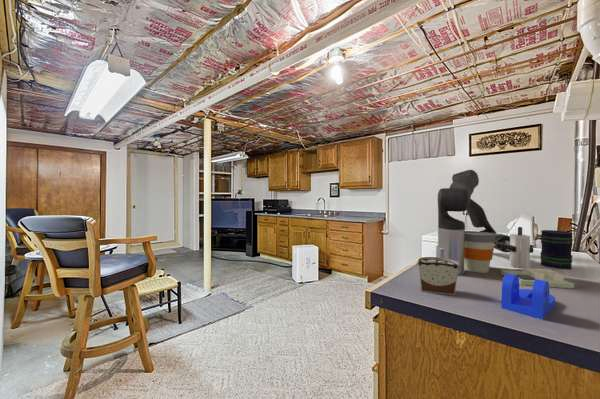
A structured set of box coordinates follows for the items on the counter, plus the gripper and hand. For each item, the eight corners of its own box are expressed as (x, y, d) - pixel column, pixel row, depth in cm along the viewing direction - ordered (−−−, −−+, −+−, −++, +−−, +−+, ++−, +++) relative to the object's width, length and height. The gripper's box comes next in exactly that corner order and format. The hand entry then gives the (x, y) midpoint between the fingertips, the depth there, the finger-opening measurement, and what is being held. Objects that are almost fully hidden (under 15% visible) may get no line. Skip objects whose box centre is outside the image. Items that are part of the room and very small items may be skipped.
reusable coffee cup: (501, 274, 101) (502, 235, 100) (465, 273, 103) (466, 235, 102) (483, 265, 113) (484, 231, 113) (452, 264, 115) (453, 230, 115)
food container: (455, 288, 86) (456, 258, 86) (460, 295, 80) (460, 263, 80) (414, 284, 90) (415, 255, 90) (416, 290, 84) (416, 259, 84)
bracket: (542, 320, 65) (543, 284, 64) (501, 308, 71) (502, 275, 71) (558, 302, 75) (558, 271, 75) (521, 293, 82) (521, 265, 82)
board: (520, 284, 90) (521, 274, 90) (501, 273, 102) (501, 264, 102) (574, 288, 86) (574, 278, 86) (546, 276, 99) (547, 267, 99)
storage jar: (538, 265, 114) (539, 231, 113) (541, 261, 120) (542, 229, 120) (571, 270, 106) (572, 234, 106) (572, 266, 113) (573, 231, 113)
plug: (515, 268, 105) (516, 227, 104) (509, 265, 109) (510, 226, 109) (530, 269, 103) (531, 227, 103) (523, 266, 108) (524, 226, 108)
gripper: (484, 233, 122) (503, 239, 106) (519, 235, 119) (545, 241, 102) (483, 249, 122) (502, 258, 106) (519, 251, 119) (544, 260, 102)
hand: (523, 249), depth 104 cm, fingers closed on plug, 5 cm apart
